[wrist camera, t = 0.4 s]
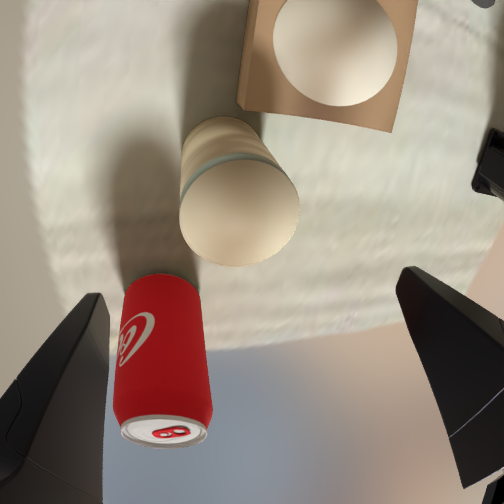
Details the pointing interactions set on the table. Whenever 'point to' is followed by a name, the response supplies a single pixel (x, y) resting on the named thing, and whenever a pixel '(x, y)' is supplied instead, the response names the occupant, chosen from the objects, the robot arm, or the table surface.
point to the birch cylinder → (234, 195)
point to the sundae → (484, 3)
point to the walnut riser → (327, 59)
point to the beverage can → (162, 365)
